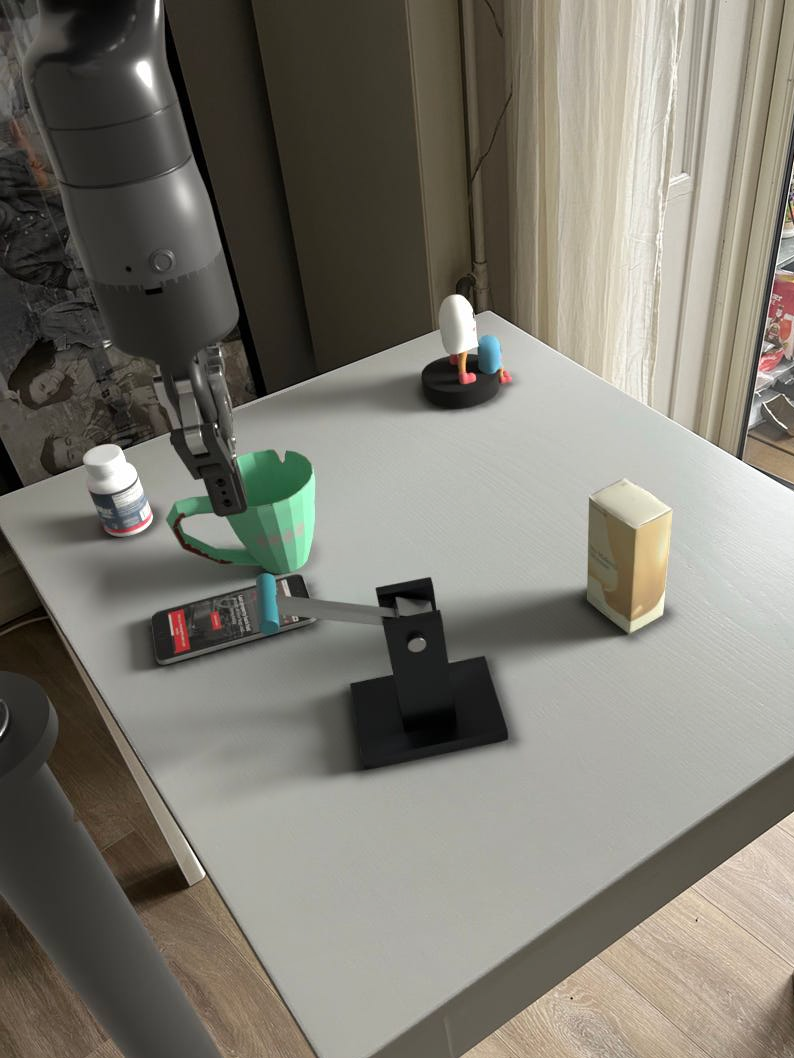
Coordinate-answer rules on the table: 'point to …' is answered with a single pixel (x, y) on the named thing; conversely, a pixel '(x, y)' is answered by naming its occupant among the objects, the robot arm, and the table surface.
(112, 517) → the pill bottle
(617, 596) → the cosmetic box
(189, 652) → the smartphone
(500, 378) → the figurine
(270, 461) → the mug
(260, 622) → the lever
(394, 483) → the table surface
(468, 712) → the bracket
